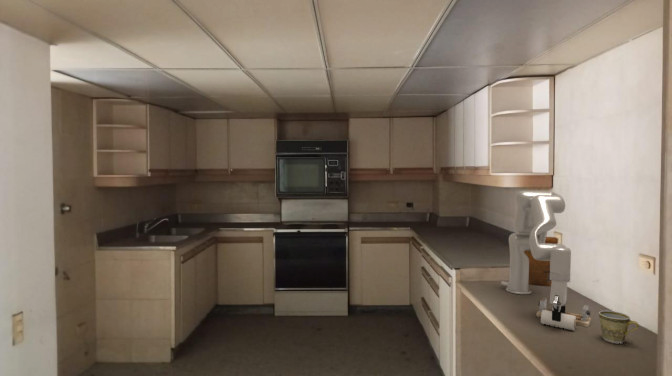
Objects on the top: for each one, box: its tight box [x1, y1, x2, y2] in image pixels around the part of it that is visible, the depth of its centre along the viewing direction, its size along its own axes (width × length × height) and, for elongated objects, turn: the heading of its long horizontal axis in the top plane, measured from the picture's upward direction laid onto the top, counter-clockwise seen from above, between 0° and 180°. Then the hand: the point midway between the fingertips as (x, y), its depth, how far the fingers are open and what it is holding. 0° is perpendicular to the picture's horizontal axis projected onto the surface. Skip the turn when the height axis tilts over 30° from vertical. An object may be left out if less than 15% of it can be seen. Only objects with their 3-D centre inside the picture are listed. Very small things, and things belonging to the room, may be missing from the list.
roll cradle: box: [535, 297, 592, 328], centre depth 187 cm, size 20×9×7 cm, turn 53°
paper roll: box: [540, 310, 577, 331], centre depth 177 cm, size 12×6×6 cm, turn 53°
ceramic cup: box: [598, 310, 640, 345], centre depth 162 cm, size 13×10×10 cm
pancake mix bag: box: [524, 236, 559, 287], centre depth 244 cm, size 7×19×28 cm, turn 72°
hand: (558, 317), depth 177 cm, fingers open, 9 cm apart
